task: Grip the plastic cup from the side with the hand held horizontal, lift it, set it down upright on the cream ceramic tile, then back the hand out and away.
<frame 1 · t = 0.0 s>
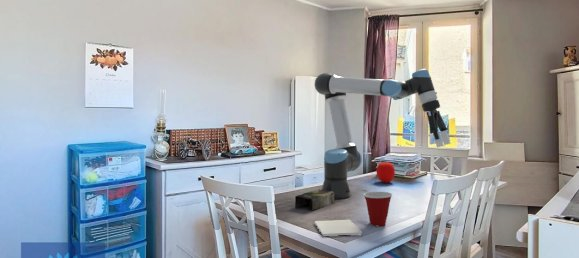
hand: (444, 145, 159), 28 cm above the table, tool tilted 20°, fingers open, 13 cm apart
olive boxy piece: (315, 206, 160), on the table
plastic cup: (377, 224, 134), on the table
tomato: (385, 182, 212), on the table
cream tile: (337, 229, 127), on the table
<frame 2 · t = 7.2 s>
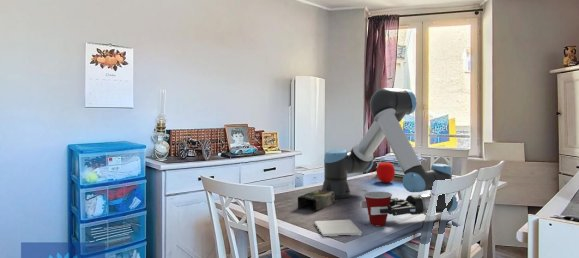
hand: (365, 207, 132), 7 cm above the table, tool horizontal, fingers closed on plastic cup, 8 cm apart
plastic cup: (377, 224, 134), on the table, touching gripper
when the fingers open (9 cm above the table, at t = 12.6 s): plastic cup moves 4 cm, resting on cream tile.
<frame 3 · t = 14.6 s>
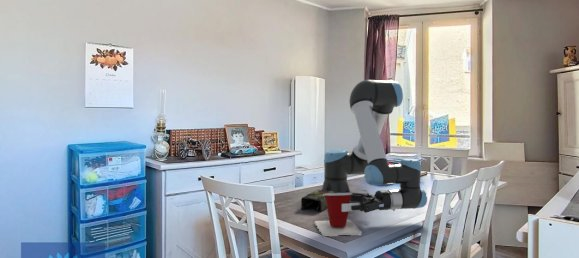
hand: (335, 202, 130), 9 cm above the table, tool horizontal, fingers open, 13 cm apart
plastic cup: (337, 226, 127), point 1 cm above the table, touching cream tile
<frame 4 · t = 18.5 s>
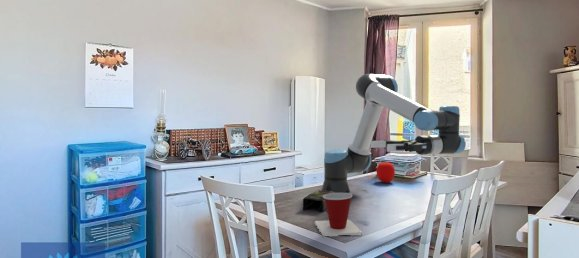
hand: (378, 146, 134), 30 cm above the table, tool horizontal, fingers open, 13 cm apart
at the end: plastic cup inside the target area on the cream tile (0.4 cm from its centre), point 0.8 cm above the cream tile's base; plastic cup tilted 0°; the gripper is holding nothing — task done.
